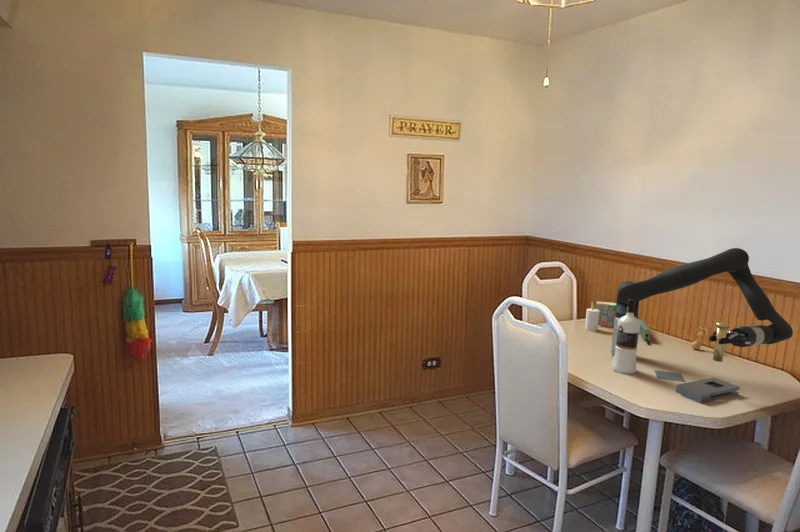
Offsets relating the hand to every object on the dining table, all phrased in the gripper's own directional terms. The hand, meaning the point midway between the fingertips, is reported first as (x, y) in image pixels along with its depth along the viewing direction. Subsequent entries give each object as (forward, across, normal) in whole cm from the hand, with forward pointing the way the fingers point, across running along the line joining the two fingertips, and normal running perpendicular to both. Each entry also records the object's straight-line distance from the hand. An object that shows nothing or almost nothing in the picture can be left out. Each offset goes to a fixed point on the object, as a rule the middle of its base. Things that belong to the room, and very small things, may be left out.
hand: (715, 339), depth 197 cm
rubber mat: (-1, -18, +21) cm, 27 cm away
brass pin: (-3, 0, +8) cm, 8 cm away
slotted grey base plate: (+1, 0, +21) cm, 21 cm away
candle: (-19, -83, +21) cm, 88 cm away
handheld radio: (-35, -63, +21) cm, 75 cm away
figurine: (-45, -41, +21) cm, 65 cm away
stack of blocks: (-37, -85, +21) cm, 95 cm away
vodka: (+13, -28, +21) cm, 37 cm away
